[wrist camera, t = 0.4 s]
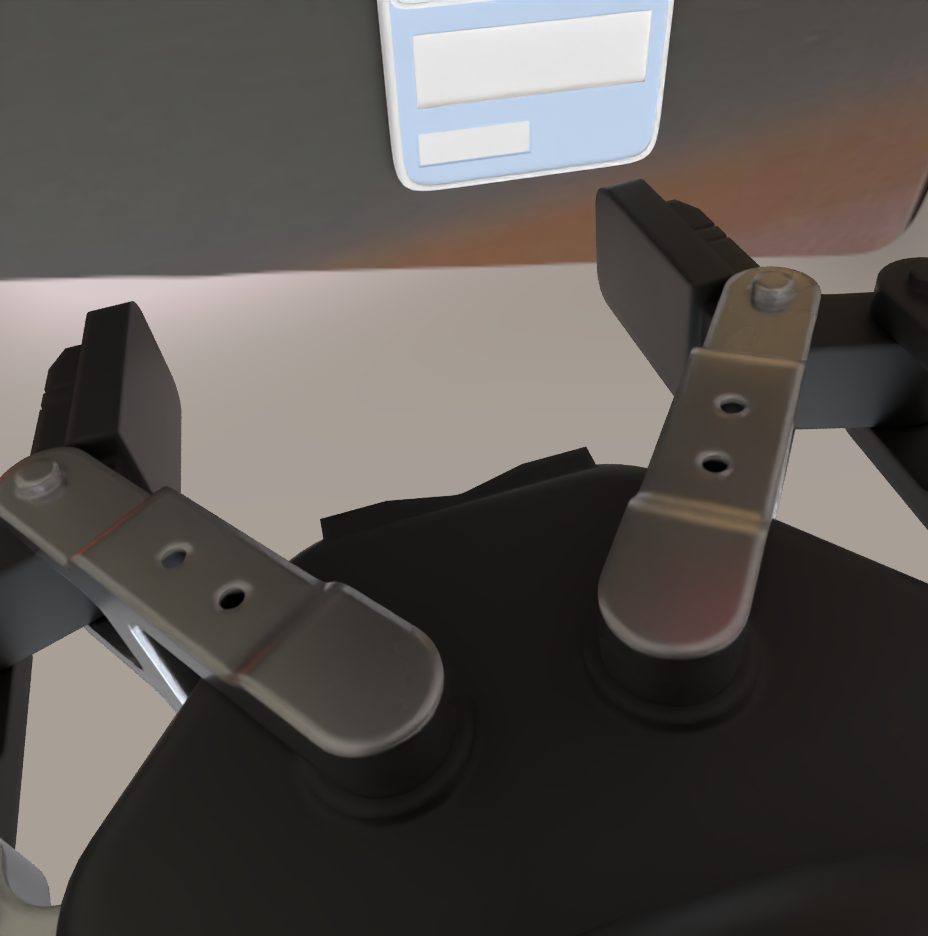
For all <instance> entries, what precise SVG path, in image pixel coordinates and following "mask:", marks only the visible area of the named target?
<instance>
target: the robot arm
mask: <svg viewBox="0 0 928 936" xmlns="http://www.w3.org/2000/svg"><path fill="white" fill-rule="evenodd" d="M596 243H597V273H598V280H599V284H600V289H601V292H602V295H603V297H604V299H605V301H606V303H607V305H608V306H609V307H610V309H611V310H612V311H613V313H614V314H615V316H616V317H617V318H618V320H619V321H620V322H621V324H622V325H623V326H624V328H625V329H626V331H627V332H628V333H629V335H630V336H631V338H632V339H633V340H634V342H635V343H636V344H637V346H638V347H639V348H640V350H641V351H642V353H643V354H644V356H645V357H646V358H647V360H648V361H649V362H650V364H651V365H652V367H653V368H654V369H655V371H656V372H657V373H658V375H659V376H660V378H661V379H662V380H663V382H664V383H665V384H666V386H667V387H668V388H669V390H670V391H671V393H672V394H673V395H674V399H673V401H672V404H671V407H670V409H669V412H668V415H667V417H666V420H665V423H664V425H663V428H662V431H661V433H660V436H659V439H658V442H657V444H656V447H655V450H654V453H653V455H652V458H651V461H650V463H649V466H648V468H643V467H638V466H631V465H622V464H599V465H596V464H595V462H594V460H593V458H592V457H591V455H590V453H589V451H588V449H587V447H583V448H579V449H576V450H572V451H568V452H565V453H562V454H557V455H554V456H550V457H546V458H543V459H539V460H535V461H532V462H528V463H524V464H521V465H519V466H517V467H515V468H513V469H511V470H509V471H507V472H505V473H503V474H501V475H499V476H497V477H495V478H493V479H491V480H489V481H487V482H485V483H483V484H481V485H479V486H477V487H475V488H473V489H471V490H469V491H467V492H464V493H462V494H458V495H453V496H442V497H430V498H417V499H404V500H392V501H385V502H381V503H377V504H374V505H370V506H366V507H363V508H359V509H355V510H352V511H348V512H345V513H341V514H337V515H333V516H330V517H326V518H322V519H320V521H321V527H322V533H323V540H321V541H319V542H317V543H315V544H313V545H312V546H310V547H309V548H307V549H305V550H303V551H302V552H300V553H299V554H298V555H296V556H295V557H294V558H292V559H291V560H290V561H288V560H286V559H285V558H283V557H281V556H280V555H278V554H277V553H275V552H273V551H272V550H270V549H269V548H267V547H265V546H264V545H262V544H261V543H259V542H257V541H256V540H254V539H253V538H251V537H249V536H248V535H246V534H245V533H243V532H241V531H240V530H238V529H237V528H235V527H234V526H232V525H230V524H229V523H227V522H226V521H224V520H222V519H221V518H219V517H218V516H216V515H214V514H213V513H211V512H210V511H208V510H206V509H205V508H203V507H202V506H200V505H199V504H197V503H195V502H194V501H192V500H191V499H189V498H187V497H186V496H184V495H183V494H181V405H180V399H179V395H178V391H177V388H176V385H175V382H174V380H173V377H172V375H171V373H170V371H169V368H168V366H167V364H166V362H165V360H164V358H163V356H162V353H161V351H160V349H159V347H158V345H157V343H156V341H155V339H154V337H153V334H152V332H151V330H150V328H149V326H148V324H147V322H146V320H145V317H144V315H143V313H142V311H141V310H140V308H139V307H138V305H137V304H136V303H135V302H134V301H131V302H127V303H123V304H119V305H115V306H110V307H106V308H102V309H98V310H94V311H90V312H88V313H87V316H86V321H85V327H84V333H83V339H82V345H78V346H74V347H70V348H66V349H65V350H64V351H63V352H62V353H61V355H60V356H59V357H58V358H57V360H56V361H55V362H54V363H53V365H52V366H51V367H50V369H49V370H48V375H47V380H46V384H45V389H44V390H45V393H44V394H43V398H42V403H41V407H42V410H40V412H39V417H38V422H37V426H36V431H35V436H34V440H33V445H32V450H31V454H30V456H28V457H26V458H24V459H23V460H21V461H20V462H18V463H16V464H15V465H14V466H12V467H11V468H10V469H9V470H7V472H5V473H4V474H3V475H2V476H1V477H0V936H928V583H925V582H923V581H921V580H918V579H916V578H914V577H911V576H909V575H906V574H904V573H902V572H899V571H897V570H894V569H892V568H890V567H887V566H885V565H882V564H880V563H877V562H875V561H873V560H871V559H868V558H866V557H864V556H861V555H859V554H856V553H854V552H852V551H849V550H846V549H845V548H842V547H840V546H837V545H835V544H833V543H830V542H828V541H825V540H823V539H821V538H818V537H816V536H814V535H811V534H809V533H807V532H804V531H802V530H799V529H797V528H795V527H792V526H790V525H788V524H785V523H783V522H780V521H778V520H776V518H777V513H778V508H779V503H780V499H781V495H782V490H783V485H784V480H785V476H786V471H787V466H788V462H789V457H790V452H791V448H792V443H793V438H794V433H795V429H824V428H825V429H826V428H845V429H846V430H847V432H848V434H849V435H850V436H851V437H852V438H853V440H854V441H855V442H856V443H857V445H858V446H859V447H860V448H861V449H862V451H863V452H864V453H865V454H866V455H867V457H868V458H869V459H870V460H871V462H872V463H873V464H874V465H875V466H876V468H877V469H878V470H879V471H880V472H881V474H882V475H883V476H884V477H885V479H886V480H887V481H888V482H889V483H890V485H891V486H892V487H893V488H894V489H895V491H896V492H897V493H898V494H899V495H900V497H901V498H902V499H903V500H904V502H905V503H906V504H907V505H908V507H909V508H910V509H911V510H912V511H913V513H914V514H915V515H916V516H917V517H918V519H919V520H920V521H921V522H922V524H923V525H924V526H925V527H926V528H927V530H928V258H925V257H918V258H908V259H902V260H899V261H895V262H893V263H890V264H888V265H887V266H885V267H884V268H883V269H882V270H881V271H880V272H879V274H878V277H877V281H876V286H875V289H874V292H868V293H849V294H821V289H820V286H819V285H818V283H817V282H816V281H815V280H814V279H813V278H811V277H809V276H808V275H806V274H804V273H802V272H799V271H796V270H793V269H789V268H783V267H760V266H759V265H758V264H757V263H756V262H755V261H754V260H753V259H752V258H750V257H749V256H748V255H747V254H746V253H745V252H744V251H743V250H742V249H741V248H740V247H739V246H738V245H737V244H736V243H735V242H734V241H732V240H731V239H730V238H727V237H726V234H725V233H724V232H723V231H722V230H721V229H720V228H719V227H718V226H714V223H713V222H712V221H711V220H710V219H709V218H708V217H707V216H706V215H705V214H704V213H703V212H702V211H701V210H700V209H698V208H695V207H693V206H690V205H688V204H685V203H683V202H680V201H678V200H675V199H674V200H670V201H666V202H665V201H664V200H663V199H662V198H661V197H660V196H659V195H658V194H657V193H656V192H655V191H654V190H653V189H652V188H651V187H650V186H649V185H648V184H647V183H646V182H645V181H644V180H643V179H637V180H633V181H628V182H624V183H620V184H616V185H612V186H608V187H604V188H600V189H599V190H598V192H597V195H596ZM82 627H84V628H85V629H86V630H87V631H88V632H89V633H90V634H91V635H92V636H94V637H95V638H96V639H97V640H98V641H99V642H100V643H102V644H103V645H104V646H105V647H106V648H107V649H109V650H110V651H111V652H112V653H113V654H115V655H116V656H117V657H118V658H119V659H120V660H121V661H123V662H124V663H125V664H126V665H127V666H128V667H130V668H131V669H132V670H133V671H134V672H135V673H136V674H138V675H139V676H140V677H141V678H143V680H145V681H146V682H147V683H148V684H149V685H150V686H152V687H153V688H154V689H155V690H156V691H157V692H158V693H159V694H160V695H161V696H162V697H163V698H164V699H165V700H166V702H167V703H168V704H169V705H170V706H171V707H172V708H173V710H174V711H175V712H176V713H177V714H176V716H175V717H174V719H173V720H172V721H171V723H170V724H169V726H168V727H167V729H166V730H165V732H164V733H163V735H162V736H161V738H160V739H159V741H158V742H157V744H156V745H155V747H154V748H153V750H152V751H151V752H150V754H149V755H148V757H147V758H146V760H145V761H144V763H143V764H142V766H141V767H140V769H139V770H138V772H137V773H136V774H135V776H134V777H133V779H132V780H131V782H130V783H129V785H128V786H127V788H126V789H125V791H124V792H123V794H122V795H121V796H120V798H119V799H118V801H117V802H116V804H115V805H114V807H113V808H112V810H111V811H110V813H109V814H108V816H107V817H106V819H105V820H104V821H103V823H102V824H101V826H100V827H99V829H98V830H97V832H96V833H95V835H94V836H93V838H92V839H91V841H90V842H89V844H88V846H87V847H86V849H85V851H84V852H83V854H82V855H81V857H80V859H79V860H78V863H77V865H76V867H75V869H74V871H73V873H72V875H71V877H70V880H69V882H68V885H67V888H66V892H65V894H64V897H63V900H62V904H61V905H56V906H51V903H50V893H49V886H48V883H47V880H46V878H45V876H44V875H43V873H42V872H41V871H40V870H39V869H38V868H37V867H36V866H35V865H34V864H32V863H31V862H30V861H28V860H27V859H26V858H25V857H23V856H22V855H21V854H20V853H18V852H17V851H16V850H15V844H16V833H17V823H18V812H19V800H20V790H21V779H22V768H23V757H24V746H25V736H26V725H27V714H28V703H29V693H30V681H31V669H32V659H33V656H32V654H34V653H36V652H38V651H39V650H41V649H43V648H45V647H47V646H49V645H51V644H52V643H54V642H56V641H58V640H60V639H62V638H63V637H65V636H67V635H69V634H71V633H73V632H74V631H76V630H78V629H80V628H82Z"/></svg>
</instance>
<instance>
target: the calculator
mask: <svg viewBox="0 0 928 936" xmlns="http://www.w3.org/2000/svg"><path fill="white" fill-rule="evenodd" d="M673 5H674V0H377V7H378V17H379V28H380V38H381V48H382V59H383V69H384V79H385V90H386V100H387V110H388V121H389V131H390V141H391V149H392V156H393V162H394V166H395V170H396V173H397V176H398V178H399V180H400V181H401V182H402V184H403V185H404V186H405V187H407V188H410V189H412V190H418V191H430V190H441V189H448V188H456V187H463V186H470V185H478V184H485V183H492V182H499V181H507V180H514V179H521V178H528V177H536V176H543V175H550V174H557V173H565V172H572V171H579V170H586V169H594V168H601V167H608V166H615V165H622V164H627V163H631V162H635V161H638V160H640V159H643V158H644V157H646V156H647V155H648V154H649V153H650V152H651V150H652V149H653V147H654V145H655V142H656V138H657V135H658V129H659V123H660V116H661V108H662V100H663V91H664V83H665V74H666V65H667V57H668V48H669V39H670V31H671V22H672V13H673Z"/></svg>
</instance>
